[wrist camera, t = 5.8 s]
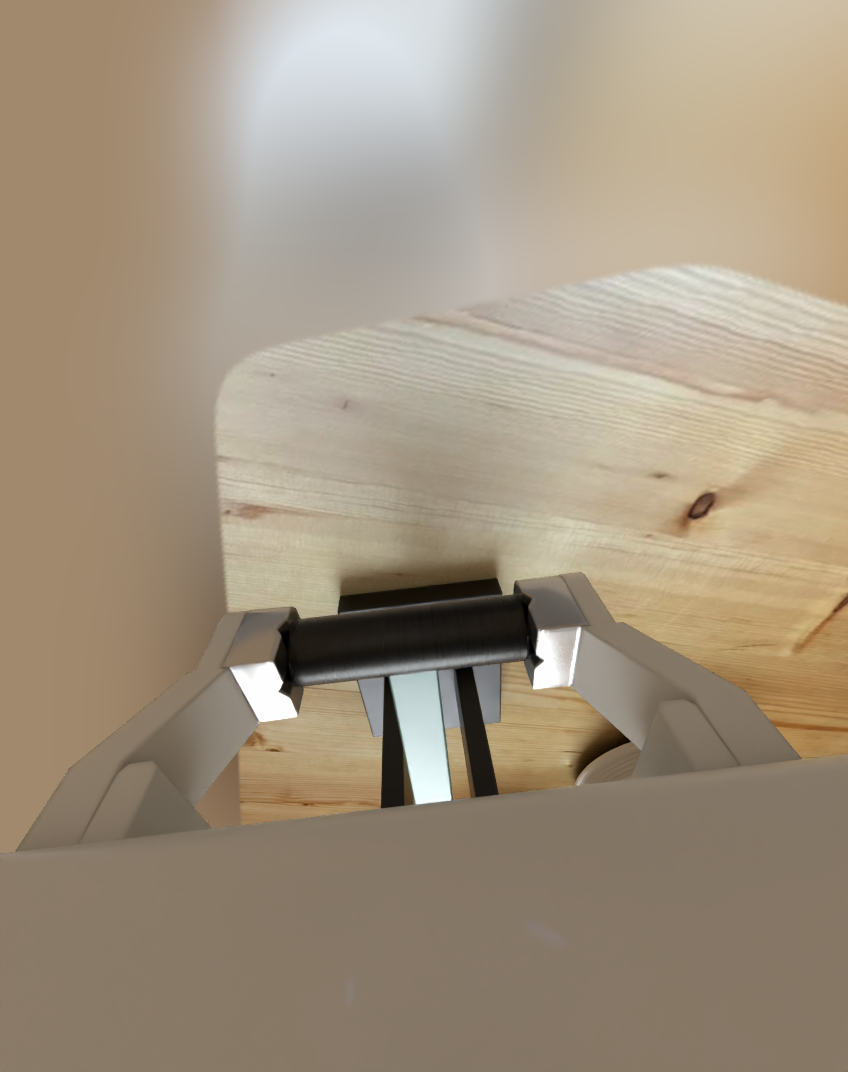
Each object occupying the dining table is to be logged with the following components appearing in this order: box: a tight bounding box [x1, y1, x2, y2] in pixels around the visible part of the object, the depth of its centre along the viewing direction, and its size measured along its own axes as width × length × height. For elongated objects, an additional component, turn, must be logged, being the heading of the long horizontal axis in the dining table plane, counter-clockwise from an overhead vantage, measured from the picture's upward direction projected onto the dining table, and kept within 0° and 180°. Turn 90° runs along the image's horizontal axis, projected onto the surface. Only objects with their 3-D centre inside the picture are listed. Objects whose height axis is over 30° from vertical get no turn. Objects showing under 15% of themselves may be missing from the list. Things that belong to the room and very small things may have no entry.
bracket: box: [338, 579, 502, 809], centre depth 20 cm, size 12×9×14 cm
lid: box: [575, 742, 641, 786], centre depth 33 cm, size 13×13×5 cm
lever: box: [287, 595, 530, 804], centre depth 13 cm, size 16×5×2 cm, turn 5°
